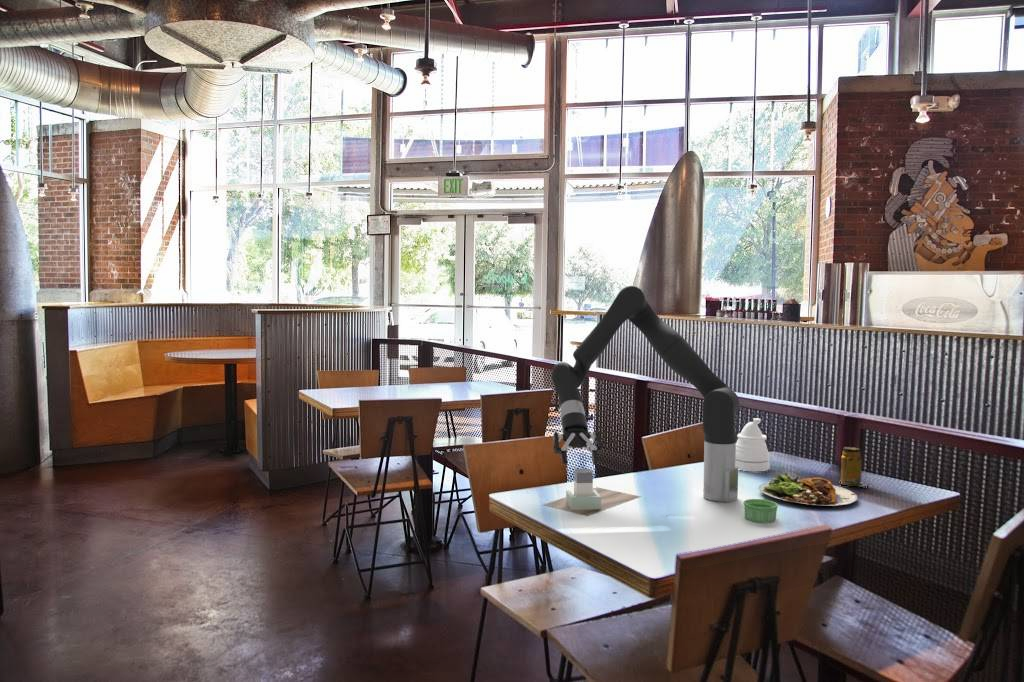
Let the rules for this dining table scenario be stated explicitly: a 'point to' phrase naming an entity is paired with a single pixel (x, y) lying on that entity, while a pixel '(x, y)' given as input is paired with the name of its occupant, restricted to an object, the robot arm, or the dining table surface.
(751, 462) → the honey pot
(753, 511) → the ramekin
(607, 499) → the board
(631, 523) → the dining table surface
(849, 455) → the condiment
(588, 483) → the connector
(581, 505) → the end holder
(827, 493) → the plate of food
